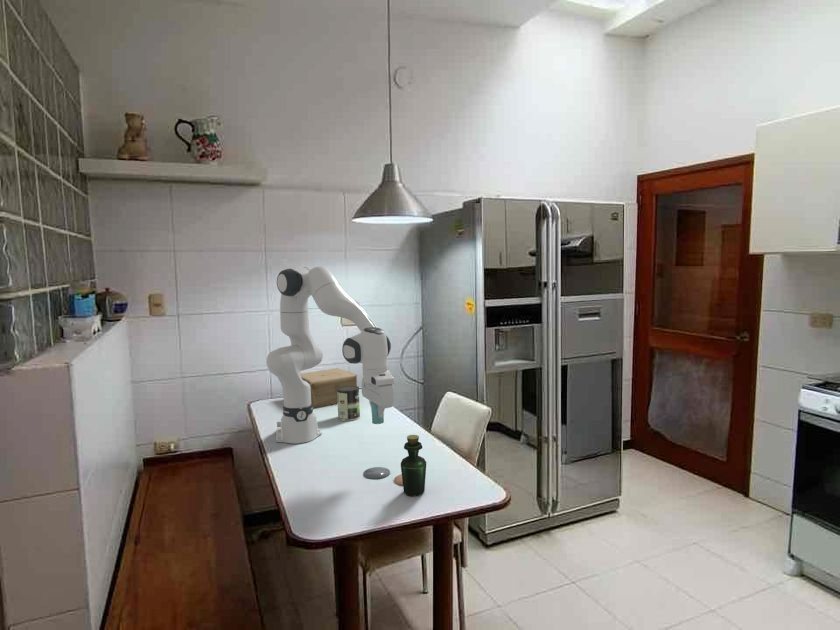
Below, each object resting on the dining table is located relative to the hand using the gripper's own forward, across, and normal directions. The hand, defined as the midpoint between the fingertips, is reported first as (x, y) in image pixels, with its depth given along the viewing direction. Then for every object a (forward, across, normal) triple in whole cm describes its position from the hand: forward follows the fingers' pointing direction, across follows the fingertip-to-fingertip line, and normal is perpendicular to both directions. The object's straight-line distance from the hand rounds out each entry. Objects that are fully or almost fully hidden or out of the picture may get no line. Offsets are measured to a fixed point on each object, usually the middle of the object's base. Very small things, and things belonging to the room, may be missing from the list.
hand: (377, 414), depth 178 cm
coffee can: (+19, -63, +11) cm, 67 cm away
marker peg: (+3, 0, 0) cm, 3 cm away
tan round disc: (+20, +12, +5) cm, 24 cm away
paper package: (+19, -100, +11) cm, 103 cm away
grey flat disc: (+20, +1, -2) cm, 20 cm away
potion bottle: (+20, +20, +3) cm, 29 cm away
